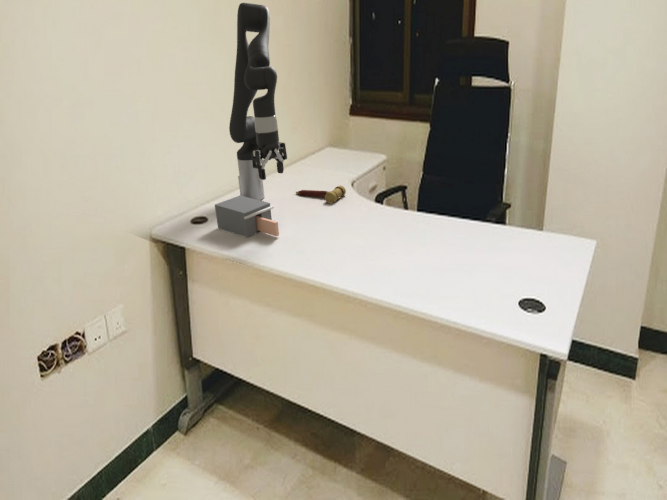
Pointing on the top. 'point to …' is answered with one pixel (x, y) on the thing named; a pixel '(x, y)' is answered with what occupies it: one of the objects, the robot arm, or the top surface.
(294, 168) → the top surface
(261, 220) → the ticket strip
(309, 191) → the gavel
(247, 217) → the dispenser
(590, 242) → the top surface
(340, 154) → the top surface
